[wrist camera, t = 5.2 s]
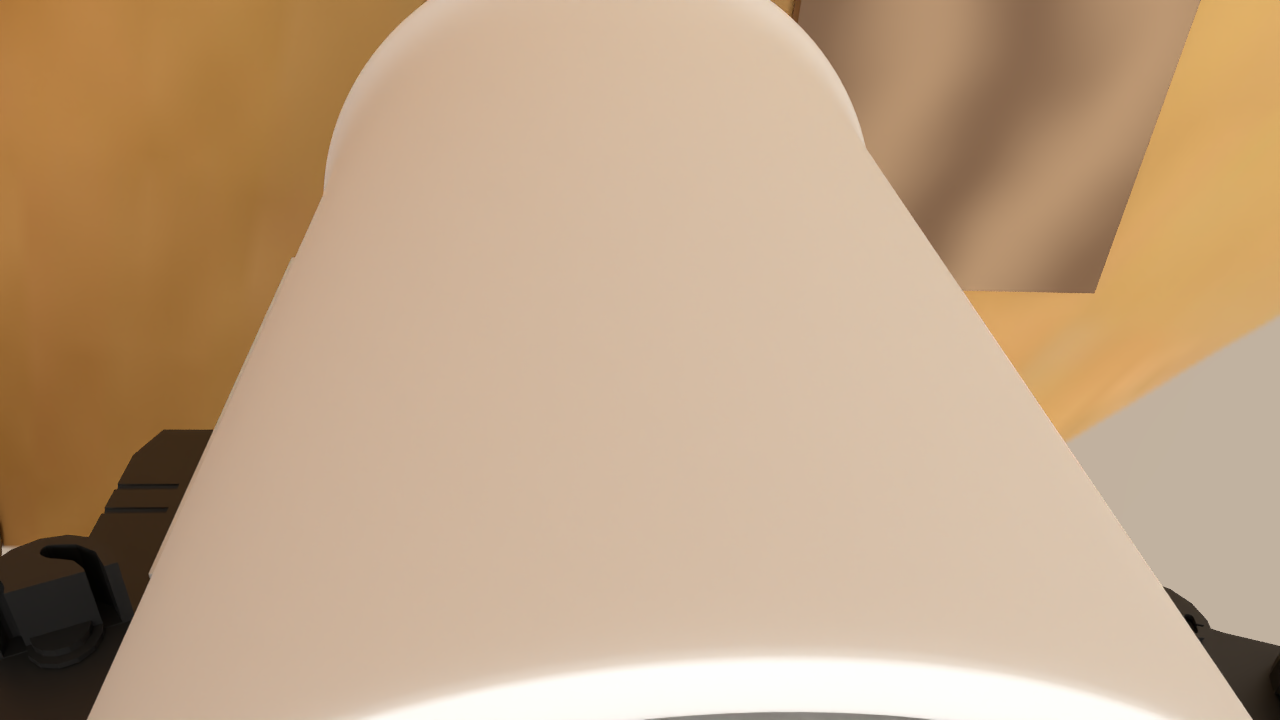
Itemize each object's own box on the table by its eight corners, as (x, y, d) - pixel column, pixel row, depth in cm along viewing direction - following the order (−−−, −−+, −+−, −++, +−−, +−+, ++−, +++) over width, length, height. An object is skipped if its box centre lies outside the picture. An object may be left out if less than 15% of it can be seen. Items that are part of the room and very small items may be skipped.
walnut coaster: (756, 275, 35) (759, 286, 34) (808, -97, 28) (814, -92, 27) (1084, 282, 36) (1094, 293, 35) (1210, -75, 29) (1226, -70, 28)
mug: (813, 548, 20) (1059, 1357, 11) (394, 568, 20) (237, 1441, 10) (902, -62, 14) (1775, 570, 4) (278, -56, 13) (-515, 690, 3)
